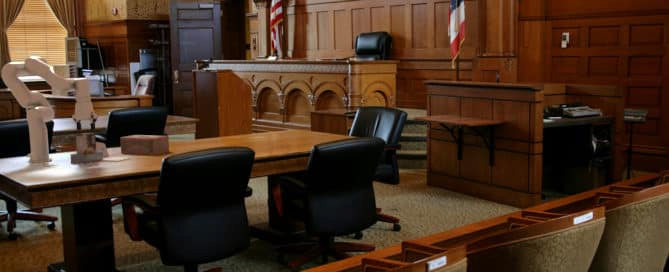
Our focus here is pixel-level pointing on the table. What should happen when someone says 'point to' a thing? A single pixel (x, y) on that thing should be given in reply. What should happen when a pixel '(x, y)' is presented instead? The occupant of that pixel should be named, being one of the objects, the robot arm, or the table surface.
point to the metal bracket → (86, 157)
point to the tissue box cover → (144, 144)
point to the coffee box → (86, 143)
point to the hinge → (101, 148)
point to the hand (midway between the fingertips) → (86, 129)
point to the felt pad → (115, 159)
